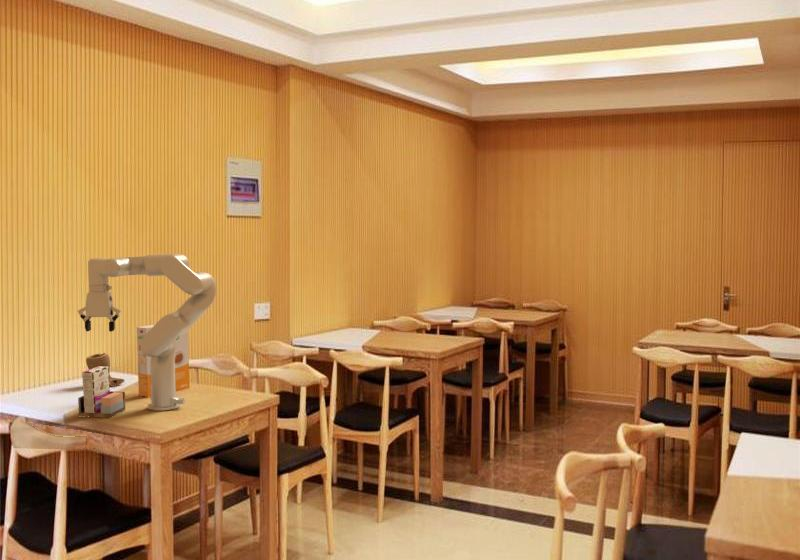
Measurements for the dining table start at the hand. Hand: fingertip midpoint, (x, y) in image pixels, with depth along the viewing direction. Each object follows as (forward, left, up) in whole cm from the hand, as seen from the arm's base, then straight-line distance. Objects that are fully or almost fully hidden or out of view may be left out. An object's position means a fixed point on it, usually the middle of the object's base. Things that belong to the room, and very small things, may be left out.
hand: (100, 331), depth 311 cm
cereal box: (-14, -29, -31) cm, 45 cm away
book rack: (-6, +11, -31) cm, 34 cm away
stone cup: (+20, -39, -31) cm, 54 cm away
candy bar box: (-4, +12, -30) cm, 32 cm away
